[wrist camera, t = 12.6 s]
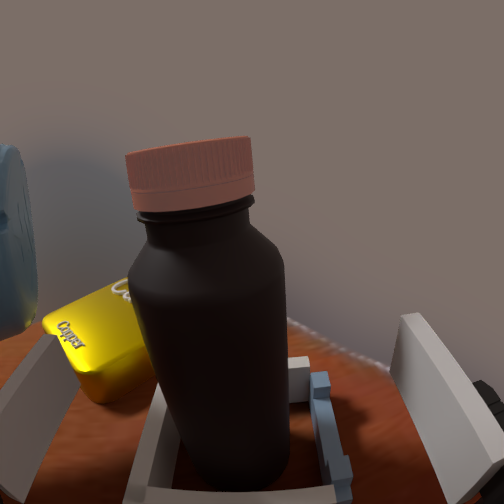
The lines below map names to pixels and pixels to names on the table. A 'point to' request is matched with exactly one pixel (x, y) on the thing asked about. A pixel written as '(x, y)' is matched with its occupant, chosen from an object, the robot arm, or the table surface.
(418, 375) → the robot arm
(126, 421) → the table surface
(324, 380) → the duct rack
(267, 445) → the vinegar
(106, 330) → the element tile
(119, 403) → the table surface
